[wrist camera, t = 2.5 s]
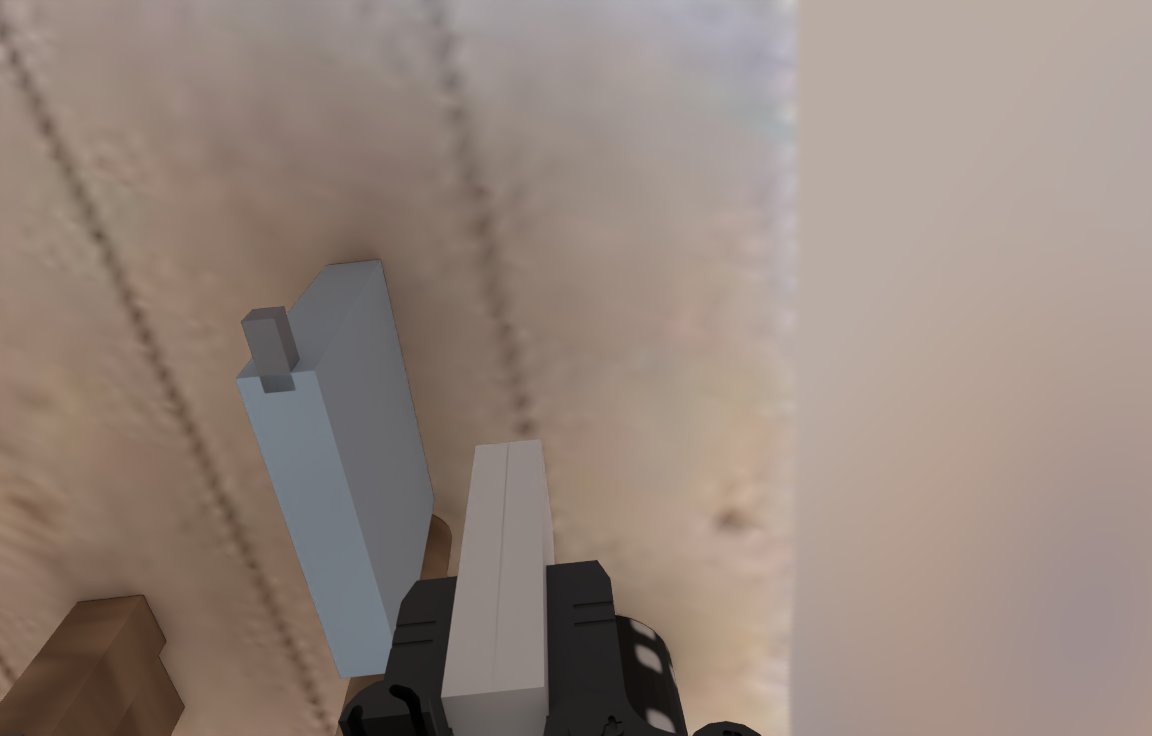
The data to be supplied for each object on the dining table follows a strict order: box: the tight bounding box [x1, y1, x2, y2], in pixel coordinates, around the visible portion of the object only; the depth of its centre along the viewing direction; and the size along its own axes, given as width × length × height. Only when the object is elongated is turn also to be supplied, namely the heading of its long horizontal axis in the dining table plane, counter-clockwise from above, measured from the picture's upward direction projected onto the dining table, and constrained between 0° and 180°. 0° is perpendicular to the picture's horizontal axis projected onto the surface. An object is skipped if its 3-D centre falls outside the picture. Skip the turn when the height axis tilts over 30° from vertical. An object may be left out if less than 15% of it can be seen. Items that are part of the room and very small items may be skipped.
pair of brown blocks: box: [0, 515, 452, 736], centre depth 28 cm, size 17×10×11 cm, turn 95°
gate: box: [235, 260, 434, 679], centre depth 24 cm, size 12×2×9 cm, turn 5°
